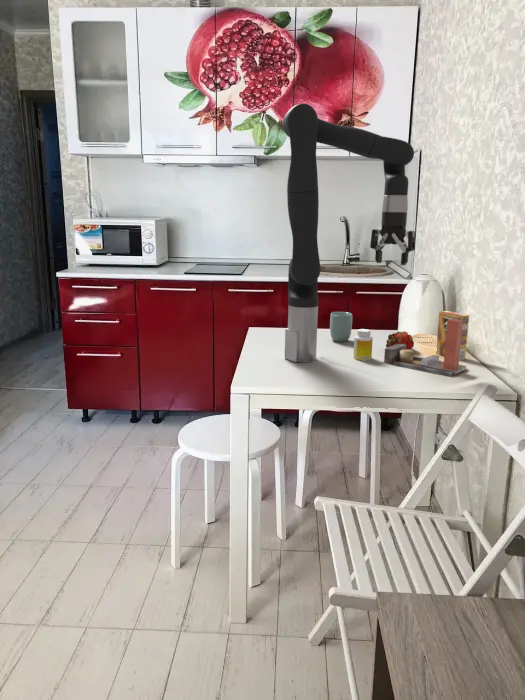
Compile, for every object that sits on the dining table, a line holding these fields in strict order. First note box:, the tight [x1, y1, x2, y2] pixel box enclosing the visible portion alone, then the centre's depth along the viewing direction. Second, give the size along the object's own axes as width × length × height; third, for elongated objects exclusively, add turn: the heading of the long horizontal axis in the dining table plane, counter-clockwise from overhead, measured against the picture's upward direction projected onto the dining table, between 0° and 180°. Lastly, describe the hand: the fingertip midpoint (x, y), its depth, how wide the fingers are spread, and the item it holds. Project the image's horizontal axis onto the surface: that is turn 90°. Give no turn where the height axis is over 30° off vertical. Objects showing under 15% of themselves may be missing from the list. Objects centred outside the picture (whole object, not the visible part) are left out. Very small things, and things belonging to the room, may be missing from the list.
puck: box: [399, 349, 414, 364], centre depth 178 cm, size 4×4×4 cm
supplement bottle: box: [353, 328, 374, 362], centre depth 182 cm, size 6×6×10 cm
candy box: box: [435, 310, 470, 361], centre depth 185 cm, size 9×4×15 cm, turn 33°
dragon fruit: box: [385, 331, 415, 350], centre depth 193 cm, size 8×8×12 cm
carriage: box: [421, 318, 467, 375], centre depth 169 cm, size 10×8×15 cm
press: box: [381, 344, 469, 378], centre depth 174 cm, size 23×11×6 cm, turn 49°
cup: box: [329, 311, 353, 343], centre depth 210 cm, size 8×8×10 cm
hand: (391, 263), depth 183 cm, fingers open, 8 cm apart
